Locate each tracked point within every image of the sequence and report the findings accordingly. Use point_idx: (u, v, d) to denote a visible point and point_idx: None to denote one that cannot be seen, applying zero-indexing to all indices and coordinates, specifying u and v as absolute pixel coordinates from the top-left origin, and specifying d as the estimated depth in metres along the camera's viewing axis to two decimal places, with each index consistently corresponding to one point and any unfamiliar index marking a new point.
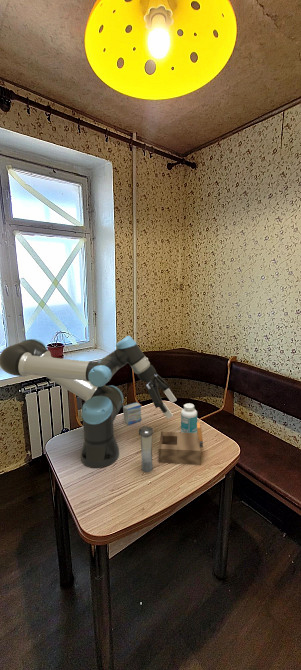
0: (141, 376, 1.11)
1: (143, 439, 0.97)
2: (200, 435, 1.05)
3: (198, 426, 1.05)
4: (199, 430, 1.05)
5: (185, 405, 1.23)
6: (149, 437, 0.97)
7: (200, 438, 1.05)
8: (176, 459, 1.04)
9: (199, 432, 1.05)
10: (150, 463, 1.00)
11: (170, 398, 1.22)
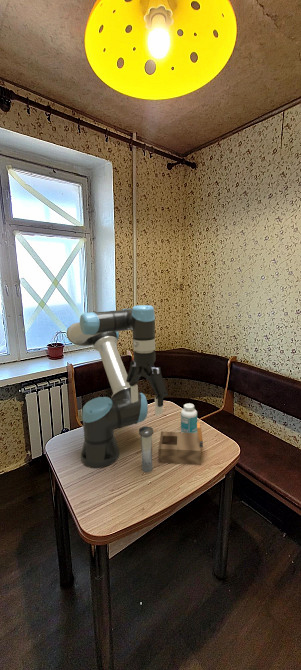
0: None
1: (143, 439, 0.97)
2: (200, 435, 1.05)
3: (198, 426, 1.05)
4: (199, 430, 1.05)
5: (185, 405, 1.23)
6: (149, 437, 0.97)
7: (200, 438, 1.05)
8: (176, 459, 1.04)
9: (199, 432, 1.05)
10: (150, 463, 1.00)
11: None
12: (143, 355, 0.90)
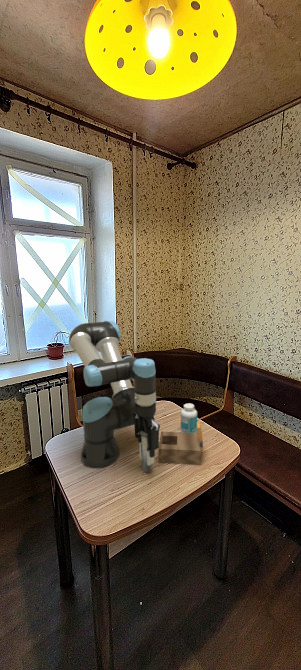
0: None
1: (143, 439, 0.97)
2: (200, 435, 1.05)
3: (198, 426, 1.05)
4: (199, 430, 1.05)
5: (185, 405, 1.23)
6: None
7: (200, 438, 1.05)
8: (176, 459, 1.04)
9: (199, 432, 1.05)
10: None
11: None
12: (143, 408, 0.93)
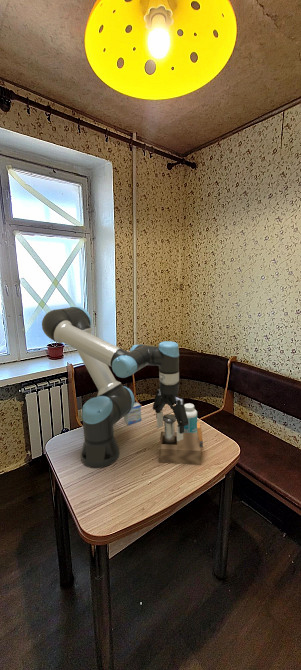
0: None
1: (167, 425, 1.06)
2: (200, 435, 1.05)
3: (198, 426, 1.05)
4: (199, 430, 1.05)
5: (185, 405, 1.23)
6: (172, 423, 1.06)
7: (200, 438, 1.05)
8: (176, 459, 1.04)
9: (199, 432, 1.05)
10: None
11: None
12: (168, 387, 1.01)
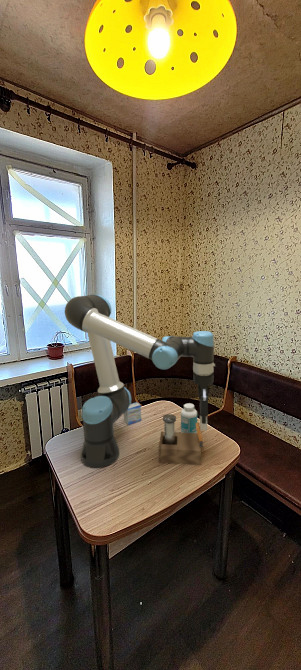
0: (200, 379, 0.99)
1: (167, 425, 1.06)
2: (199, 435, 1.05)
3: (197, 426, 1.05)
4: (198, 431, 1.05)
5: (185, 405, 1.23)
6: (172, 423, 1.06)
7: (200, 438, 1.05)
8: (176, 459, 1.04)
9: (198, 432, 1.05)
10: None
11: None
12: None
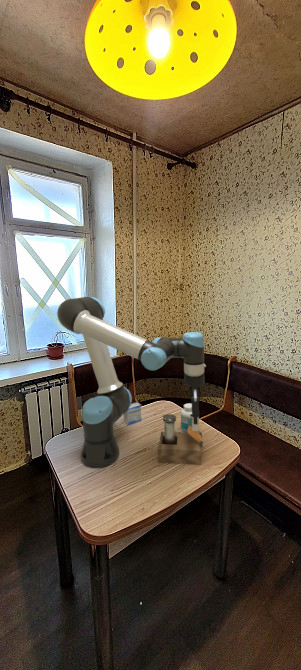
0: (191, 380, 0.99)
1: (167, 425, 1.06)
2: (195, 437, 1.05)
3: (188, 430, 1.06)
4: (191, 434, 1.05)
5: (185, 405, 1.23)
6: (172, 423, 1.06)
7: (197, 439, 1.06)
8: (176, 459, 1.04)
9: (192, 435, 1.05)
10: None
11: None
12: None
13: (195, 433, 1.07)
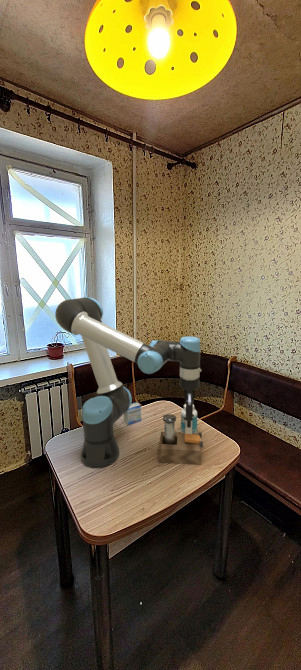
0: (186, 384, 1.01)
1: (167, 425, 1.06)
2: (193, 441, 1.06)
3: None
4: (188, 440, 1.06)
5: (185, 405, 1.23)
6: (172, 423, 1.06)
7: (196, 442, 1.06)
8: (176, 459, 1.04)
9: (189, 441, 1.06)
10: None
11: None
12: None
13: (192, 437, 1.07)
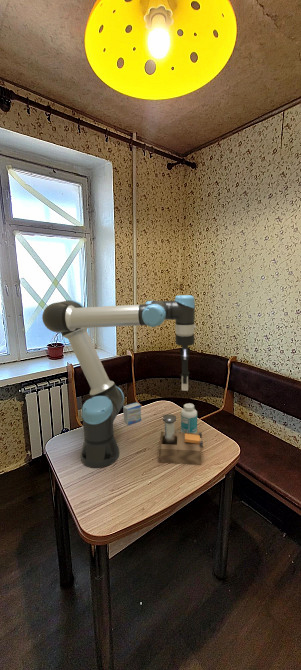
0: (181, 339, 1.05)
1: (167, 425, 1.06)
2: (193, 441, 1.06)
3: None
4: (188, 440, 1.06)
5: (185, 405, 1.23)
6: (172, 423, 1.06)
7: (196, 442, 1.06)
8: (176, 459, 1.04)
9: (189, 441, 1.06)
10: None
11: None
12: None
13: (192, 437, 1.07)
